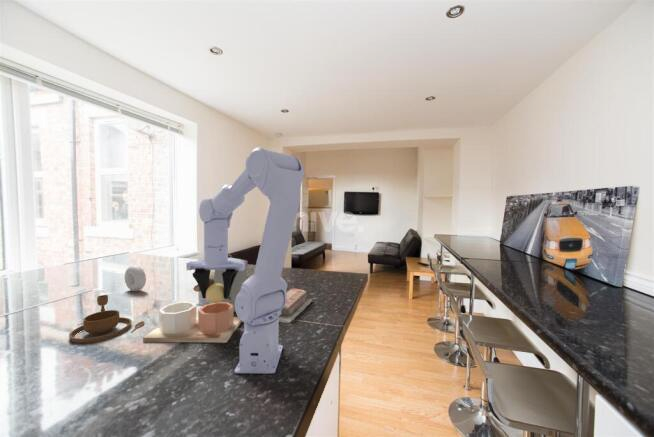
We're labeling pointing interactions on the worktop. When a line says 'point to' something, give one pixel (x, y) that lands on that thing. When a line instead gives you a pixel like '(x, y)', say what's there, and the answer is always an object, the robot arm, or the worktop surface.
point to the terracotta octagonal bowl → (215, 318)
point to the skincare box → (236, 284)
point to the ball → (215, 293)
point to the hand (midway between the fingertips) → (216, 297)
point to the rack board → (192, 335)
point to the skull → (211, 280)
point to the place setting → (102, 323)
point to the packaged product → (294, 305)
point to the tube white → (177, 317)
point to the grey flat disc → (135, 278)
